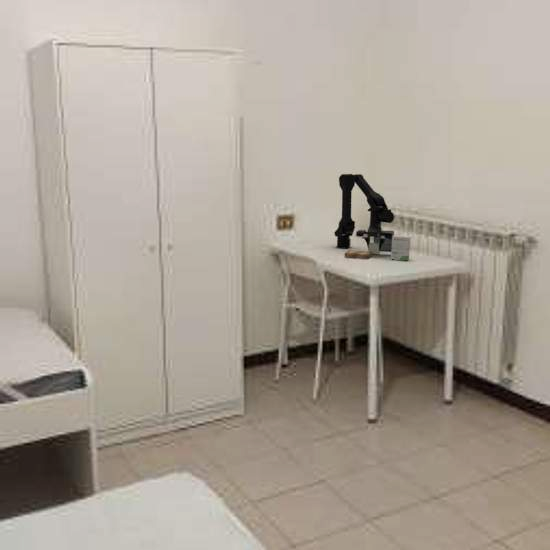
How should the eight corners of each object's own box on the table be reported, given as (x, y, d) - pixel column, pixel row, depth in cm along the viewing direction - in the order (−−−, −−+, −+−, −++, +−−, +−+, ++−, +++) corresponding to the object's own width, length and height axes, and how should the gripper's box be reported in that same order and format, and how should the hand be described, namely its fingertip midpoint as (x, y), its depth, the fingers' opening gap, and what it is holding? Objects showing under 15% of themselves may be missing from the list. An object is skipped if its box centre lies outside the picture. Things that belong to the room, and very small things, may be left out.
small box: (392, 249, 381) (393, 230, 379) (393, 251, 375) (394, 232, 373) (373, 249, 382) (373, 229, 380) (373, 251, 376) (374, 231, 374)
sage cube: (368, 253, 365) (368, 244, 364) (370, 251, 369) (370, 242, 368) (378, 254, 363) (378, 244, 362) (379, 252, 368) (380, 243, 367)
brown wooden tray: (344, 257, 357) (344, 252, 356) (349, 254, 366) (349, 249, 365) (367, 259, 353) (368, 254, 352) (372, 256, 362) (372, 251, 361)
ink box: (390, 259, 352) (391, 236, 350) (392, 258, 357) (393, 235, 355) (407, 261, 350) (409, 237, 347) (409, 259, 354) (410, 236, 352)
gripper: (354, 221, 358) (353, 251, 362) (390, 223, 352) (389, 254, 356) (359, 218, 369) (357, 248, 372) (394, 221, 363) (393, 251, 366)
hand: (374, 250), depth 366 cm, fingers closed on sage cube, 5 cm apart
